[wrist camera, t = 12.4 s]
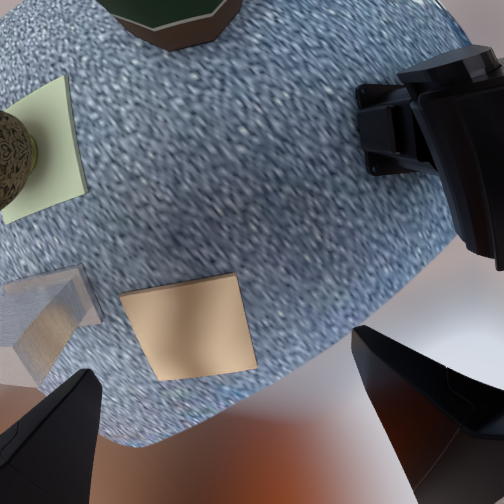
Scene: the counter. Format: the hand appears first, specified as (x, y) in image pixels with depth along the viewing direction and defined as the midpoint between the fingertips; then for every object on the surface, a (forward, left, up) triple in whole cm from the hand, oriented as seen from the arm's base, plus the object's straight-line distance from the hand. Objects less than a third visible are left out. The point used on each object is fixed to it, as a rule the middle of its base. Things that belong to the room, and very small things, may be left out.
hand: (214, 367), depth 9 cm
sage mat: (+13, -10, -12) cm, 20 cm away
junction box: (+16, +2, -12) cm, 20 cm away
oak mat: (+4, +7, -12) cm, 14 cm away
